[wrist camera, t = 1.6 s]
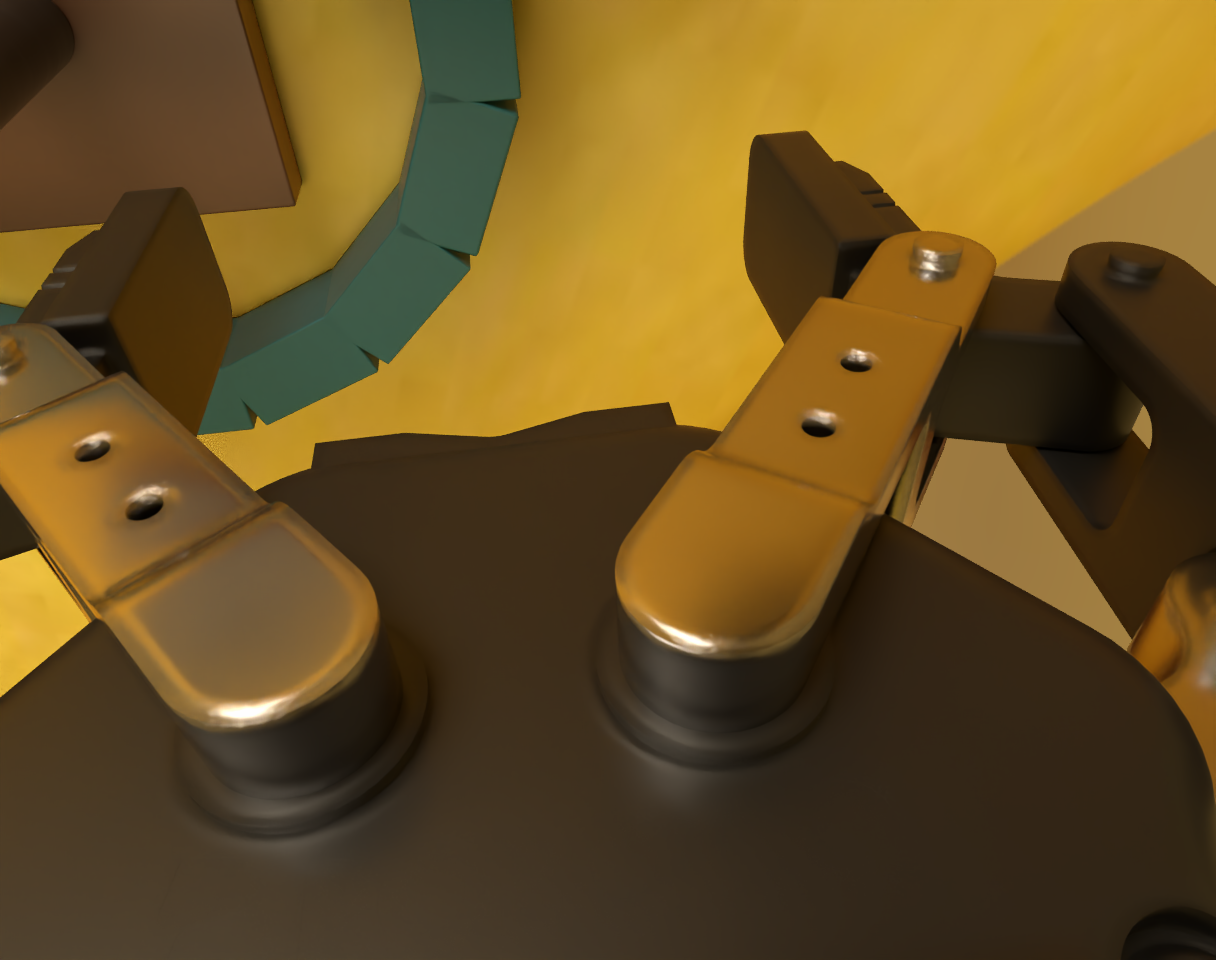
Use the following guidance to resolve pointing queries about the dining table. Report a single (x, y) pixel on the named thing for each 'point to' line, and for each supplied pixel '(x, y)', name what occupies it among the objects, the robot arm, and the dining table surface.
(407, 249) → the ring
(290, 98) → the dining table surface
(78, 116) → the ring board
